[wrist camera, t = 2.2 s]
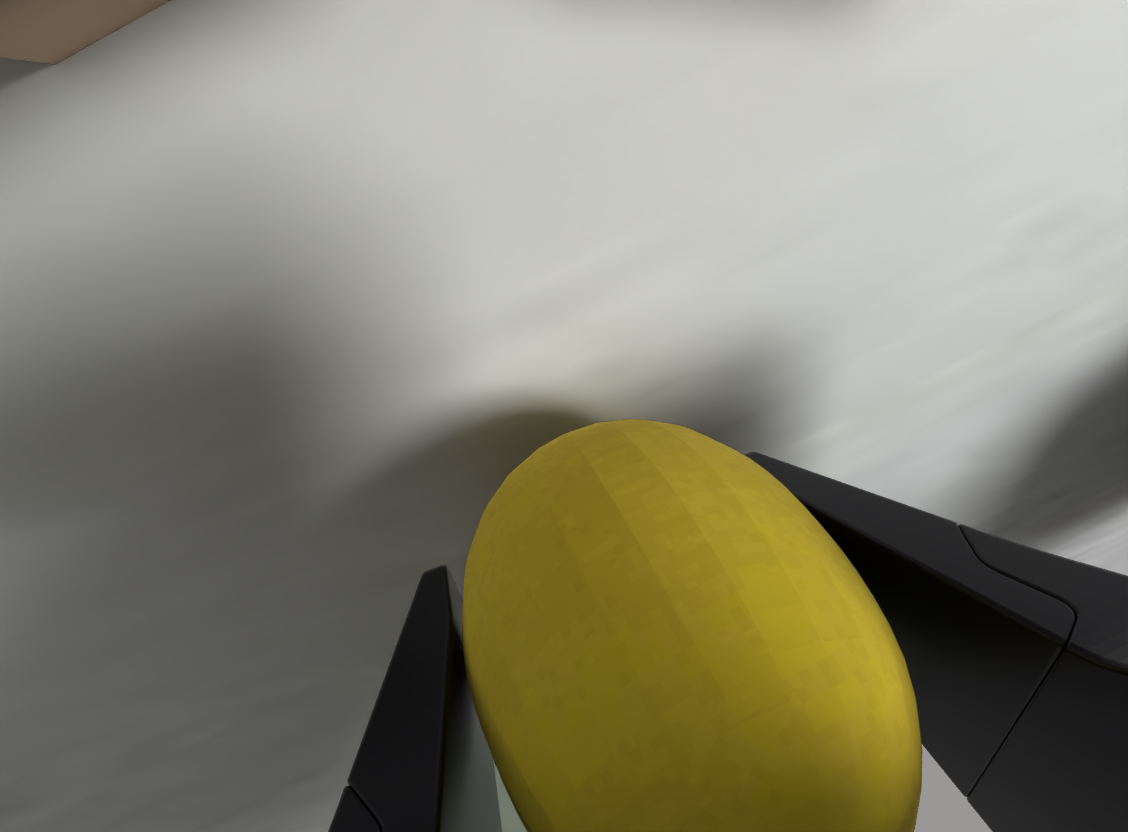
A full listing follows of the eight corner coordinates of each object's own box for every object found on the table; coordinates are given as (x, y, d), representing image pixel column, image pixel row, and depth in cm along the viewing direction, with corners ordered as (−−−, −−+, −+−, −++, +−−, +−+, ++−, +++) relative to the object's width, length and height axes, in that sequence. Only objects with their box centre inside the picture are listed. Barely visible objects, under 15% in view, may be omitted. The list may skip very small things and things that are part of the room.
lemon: (579, 589, 13) (791, 1071, 7) (378, 517, 10) (399, 1266, 4) (730, 424, 12) (1173, 814, 5) (550, 288, 9) (1056, 790, 2)
